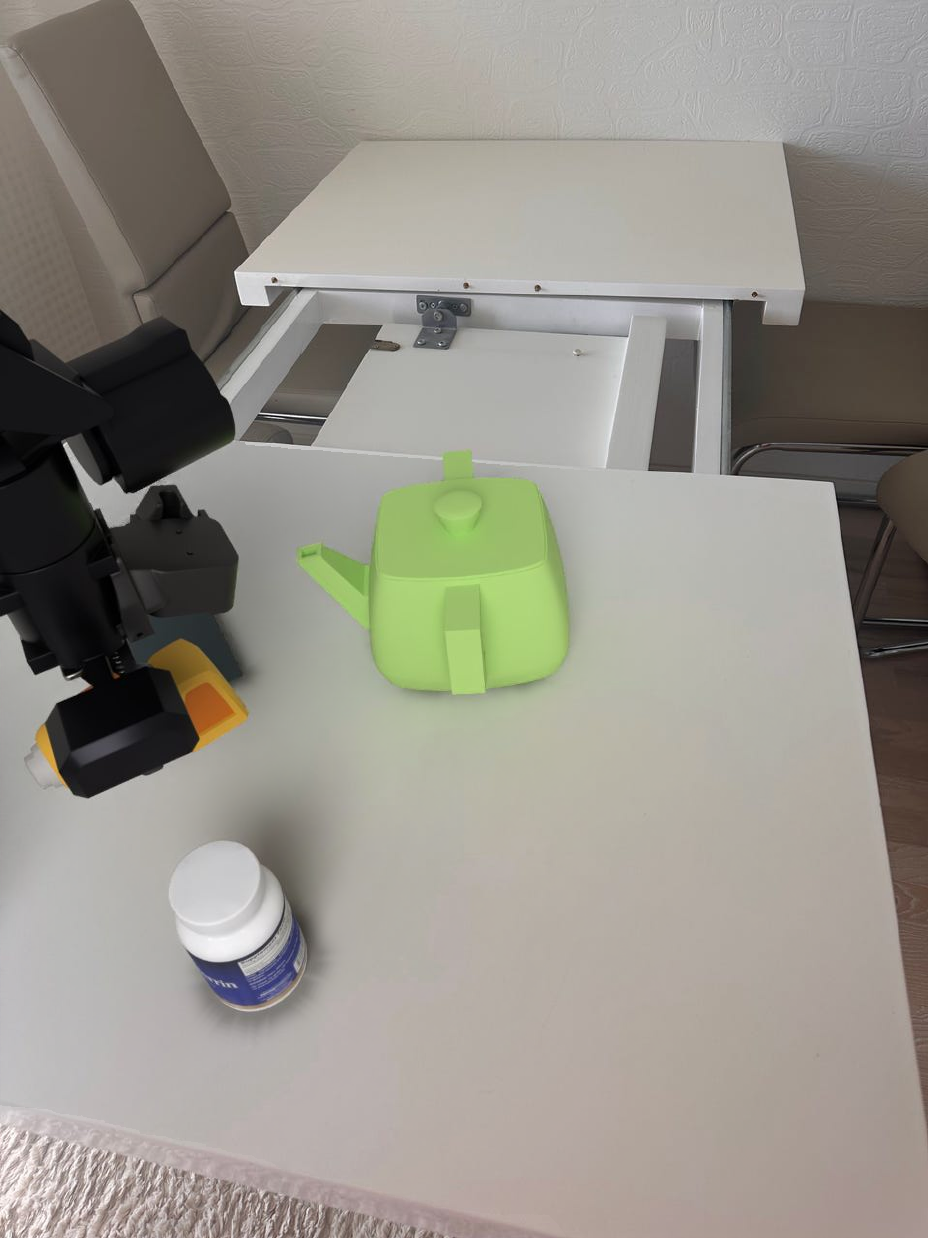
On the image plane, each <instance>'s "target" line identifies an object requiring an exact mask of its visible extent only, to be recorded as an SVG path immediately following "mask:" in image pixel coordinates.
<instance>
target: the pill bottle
mask: <svg viewBox="0 0 928 1238" xmlns="http://www.w3.org/2000/svg"><path fill="white" fill-rule="evenodd" d="M167 891H168V892H167V893H168V901H169V904H170V906H171V907H170V908H171V909H172V911H173V913H174V925H175V930H176V933H177V936H178V939H179V941H180V942H181V945H182V946H183V947H184V949H185V951H186V952H187V954H188V955H189V956H190V958H191V959H192V961H193V962H194V964H195V966H196V968H197V969H198V971H199V972H200V973H201V975H202V976H203V978H204V980H205V981H206V982H207V984H208V986H209V987H210V989H211V990H212V992H213V993H214V994H215V996H216V997H217V999H219V1000H220V1001H221V1002H222V1003H223V1004H225V1006H228V1007H230V1008H232V1009H235V1010H238V1011H242V1012H259V1011H262V1010H266V1009H269V1008H271V1007H274V1006H275V1005H278V1004H279V1003H280V1002H282V1001H283V1000H285V999H286V998H287V997H288V996H289V995H290V994H291V993H292V992H293V991H294V990H295V989H296V988H297V986H298V984H299V983H300V981H301V980H302V977H303V976H304V973H305V971H306V968H307V961H308V947H307V942H306V940H305V936H304V933H303V932H302V929H301V927H300V925H299V923H298V921H297V919H296V916H295V915H294V912H293V909H292V908H291V906H290V903H289V901H288V899H287V896H286V895H285V892H284V890H283V887H282V885H281V883H280V881H279V880H278V878H277V877H276V875H275V874H274V873H273V872H272V871H271V870H270V869H269V868H268V867H266V866H265V865H263V864H261V863H260V861H259V859H258V857H257V856H256V854H255V853H254V852H253V851H252V850H251V849H250V848H249V847H248V846H247V845H244V844H242V843H241V842H239V841H234V840H227V839H220V840H213V841H209V842H206V843H204V844H202V845H199V846H197V847H196V848H194V849H192V850H191V851H190V852H188V853H187V854H186V855H185V856H184V857H183V858H182V859H181V860H180V861H179V862H178V864H177V865H176V866H175V868H174V870H173V872H172V874H171V875H170V879H169V884H168V888H167Z"/></svg>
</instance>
